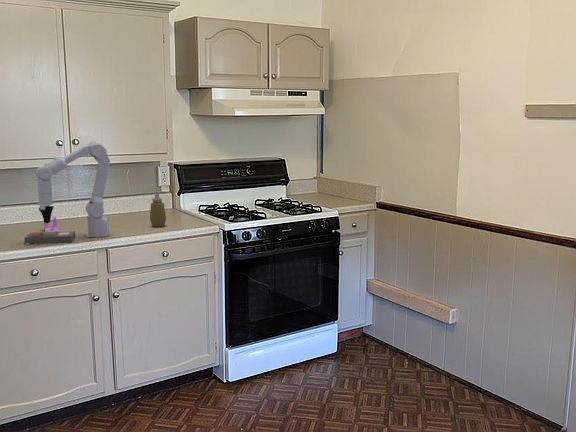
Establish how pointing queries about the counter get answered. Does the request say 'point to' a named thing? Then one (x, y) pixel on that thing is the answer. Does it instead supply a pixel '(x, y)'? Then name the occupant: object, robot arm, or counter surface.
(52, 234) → the grey key
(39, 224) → the counter surface
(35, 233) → the terracotta key
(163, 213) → the squeeze bottle
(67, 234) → the cream key
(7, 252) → the counter surface
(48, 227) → the bracket
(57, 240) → the grey slotted base
